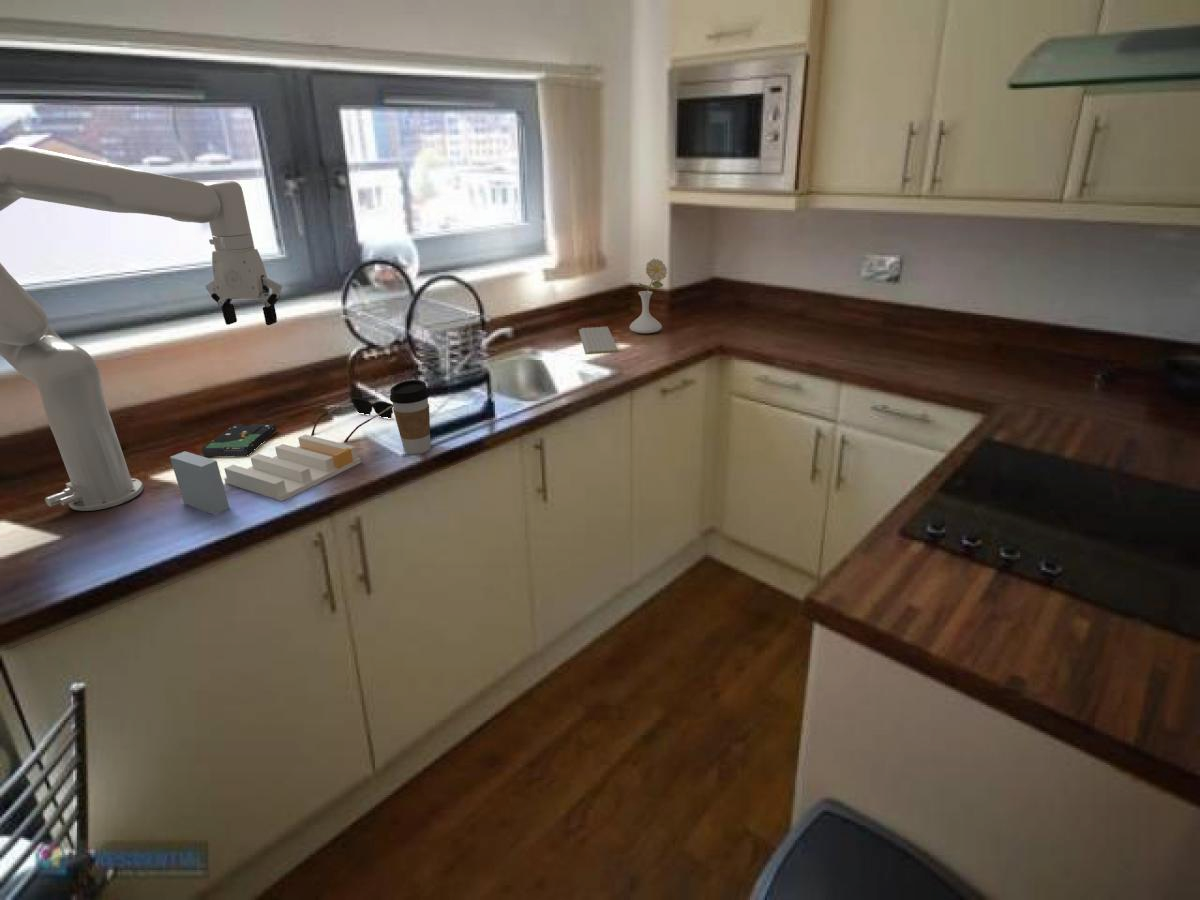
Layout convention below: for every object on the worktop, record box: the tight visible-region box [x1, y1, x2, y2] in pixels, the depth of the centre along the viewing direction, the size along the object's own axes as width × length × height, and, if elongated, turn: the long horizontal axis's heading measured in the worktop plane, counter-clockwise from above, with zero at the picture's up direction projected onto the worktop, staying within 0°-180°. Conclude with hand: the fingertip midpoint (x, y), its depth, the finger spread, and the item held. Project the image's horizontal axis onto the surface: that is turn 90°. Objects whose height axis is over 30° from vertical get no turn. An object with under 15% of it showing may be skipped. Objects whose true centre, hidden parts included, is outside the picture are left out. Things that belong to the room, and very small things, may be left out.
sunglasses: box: [310, 397, 394, 444], centre depth 172 cm, size 14×16×5 cm
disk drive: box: [201, 423, 278, 458], centre depth 165 cm, size 10×3×15 cm
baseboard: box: [575, 323, 619, 355], centre depth 239 cm, size 31×3×12 cm
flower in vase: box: [629, 258, 668, 334], centre depth 243 cm, size 13×11×25 cm
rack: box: [223, 434, 362, 502], centre depth 149 cm, size 20×18×4 cm
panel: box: [169, 450, 231, 515], centre depth 135 cm, size 3×10×10 cm, turn 60°
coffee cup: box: [389, 379, 432, 455], centre depth 156 cm, size 8×8×15 cm
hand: (251, 323), depth 156 cm, fingers open, 9 cm apart
